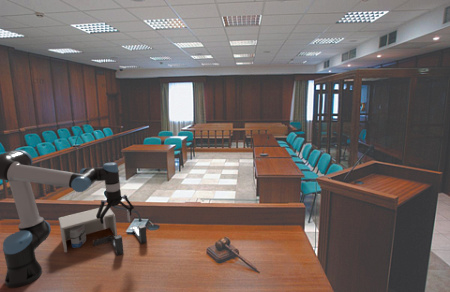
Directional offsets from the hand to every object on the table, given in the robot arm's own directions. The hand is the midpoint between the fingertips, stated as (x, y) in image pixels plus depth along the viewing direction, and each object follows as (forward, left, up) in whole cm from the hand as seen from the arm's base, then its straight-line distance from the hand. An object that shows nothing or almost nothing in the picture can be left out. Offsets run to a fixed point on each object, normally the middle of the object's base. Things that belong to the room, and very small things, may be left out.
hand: (117, 224), depth 149 cm
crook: (+7, +8, -19) cm, 21 cm away
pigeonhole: (+24, +21, -19) cm, 37 cm away
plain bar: (+16, -10, -19) cm, 27 cm away
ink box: (+19, +26, -19) cm, 38 cm away
